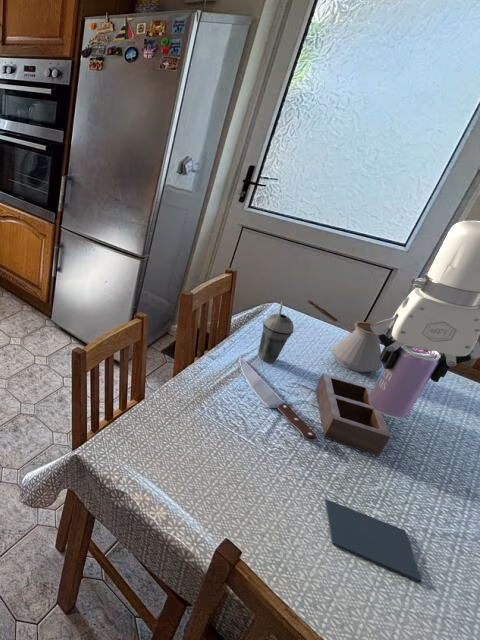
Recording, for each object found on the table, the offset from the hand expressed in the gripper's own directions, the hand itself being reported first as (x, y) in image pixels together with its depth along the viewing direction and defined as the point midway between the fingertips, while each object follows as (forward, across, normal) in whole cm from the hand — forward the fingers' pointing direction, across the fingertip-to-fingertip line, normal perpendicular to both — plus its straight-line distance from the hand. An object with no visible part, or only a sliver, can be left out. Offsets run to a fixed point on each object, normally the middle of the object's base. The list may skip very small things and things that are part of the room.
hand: (408, 370), depth 80 cm
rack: (+27, 0, +16) cm, 32 cm away
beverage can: (+10, 0, 0) cm, 10 cm away
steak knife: (+27, -15, +16) cm, 35 cm away
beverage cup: (+27, -16, +34) cm, 46 cm away
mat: (+27, 0, -18) cm, 33 cm away
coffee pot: (+28, 0, +46) cm, 53 cm away
